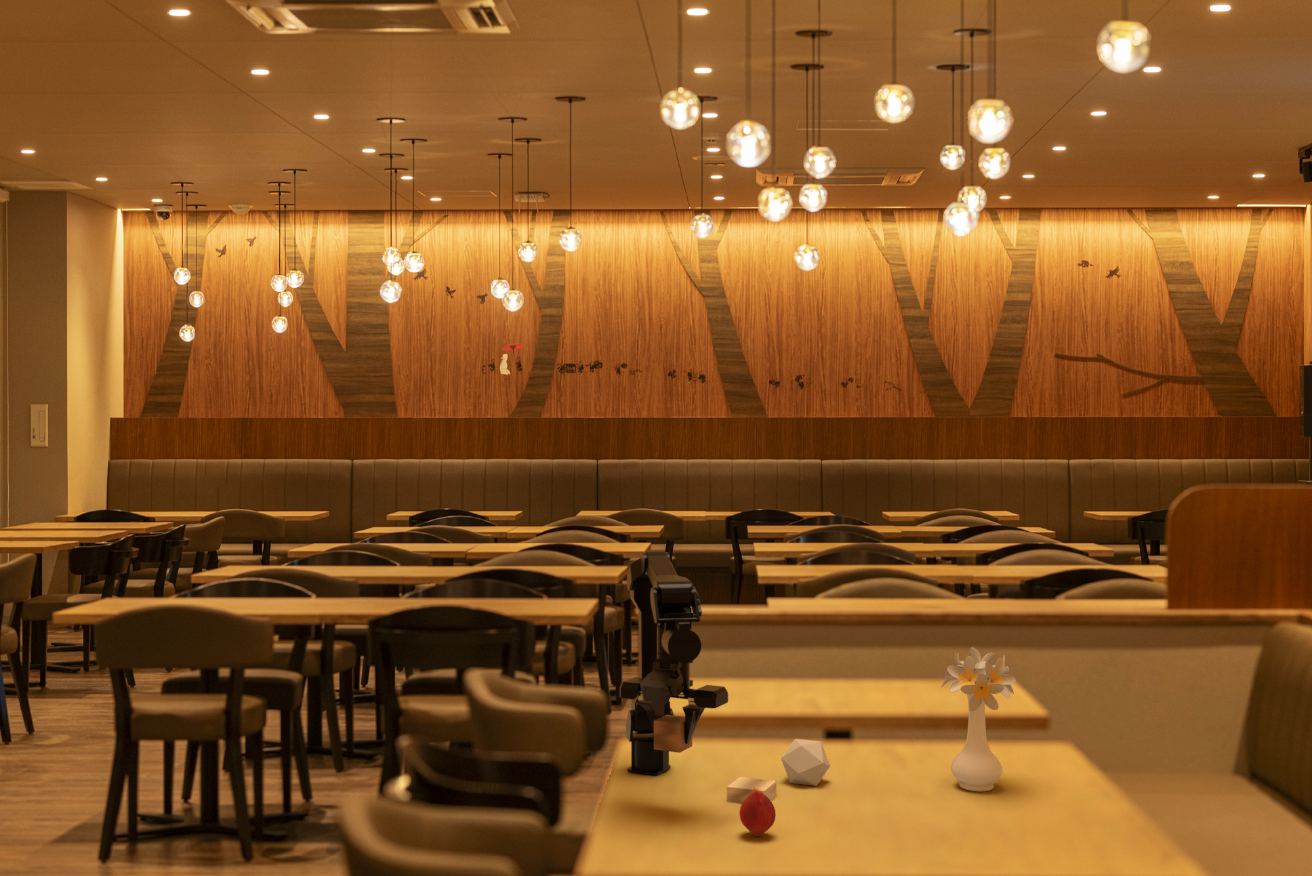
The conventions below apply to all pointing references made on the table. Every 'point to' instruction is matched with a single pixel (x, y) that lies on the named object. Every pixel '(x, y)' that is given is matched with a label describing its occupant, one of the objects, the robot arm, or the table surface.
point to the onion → (757, 813)
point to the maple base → (750, 789)
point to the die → (805, 762)
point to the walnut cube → (670, 734)
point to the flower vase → (978, 716)
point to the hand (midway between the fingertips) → (673, 741)
